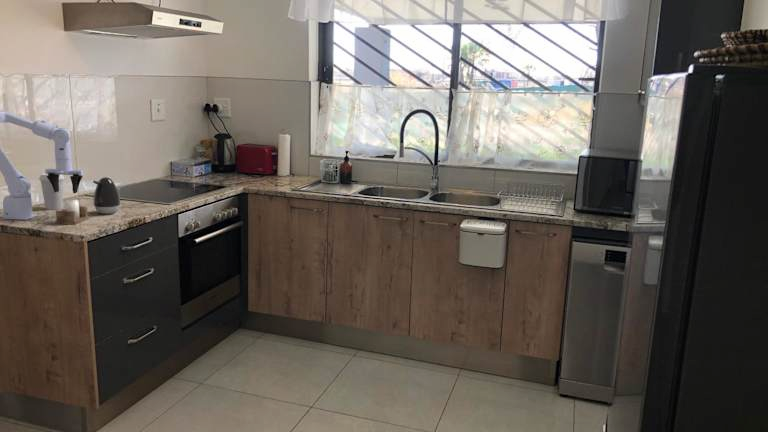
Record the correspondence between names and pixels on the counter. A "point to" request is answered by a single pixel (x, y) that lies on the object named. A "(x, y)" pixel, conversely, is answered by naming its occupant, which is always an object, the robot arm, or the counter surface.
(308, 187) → the counter surface
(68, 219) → the holder
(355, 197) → the counter surface
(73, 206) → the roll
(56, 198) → the coffee cup
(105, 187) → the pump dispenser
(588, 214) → the counter surface
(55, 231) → the counter surface
